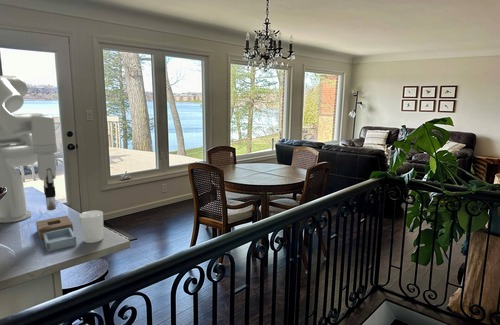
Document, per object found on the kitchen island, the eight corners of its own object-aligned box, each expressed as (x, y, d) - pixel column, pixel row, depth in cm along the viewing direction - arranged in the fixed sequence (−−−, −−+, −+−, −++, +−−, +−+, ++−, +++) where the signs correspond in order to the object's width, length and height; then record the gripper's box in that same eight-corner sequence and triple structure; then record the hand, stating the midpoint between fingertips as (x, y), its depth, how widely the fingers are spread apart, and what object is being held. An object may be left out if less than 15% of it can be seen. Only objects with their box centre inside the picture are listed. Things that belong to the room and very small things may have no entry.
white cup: (106, 241, 124) (104, 215, 122) (82, 245, 120) (79, 219, 118) (103, 233, 131) (101, 209, 129) (81, 237, 127) (78, 212, 125)
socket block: (37, 230, 133) (36, 221, 132) (68, 224, 139) (67, 215, 138) (40, 240, 124) (39, 230, 123) (73, 233, 131) (72, 223, 130)
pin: (46, 208, 130) (43, 180, 128) (55, 207, 132) (52, 178, 130) (47, 210, 128) (44, 181, 126) (56, 209, 130) (53, 180, 127)
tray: (43, 240, 124) (42, 233, 123) (71, 234, 129) (70, 227, 129) (47, 251, 115) (46, 243, 115) (76, 244, 121) (75, 237, 120)
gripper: (31, 146, 129) (36, 192, 133) (35, 153, 117) (41, 203, 120) (53, 144, 134) (57, 189, 138) (60, 151, 121) (64, 199, 125)
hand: (50, 195), depth 129 cm, fingers closed on pin, 3 cm apart
